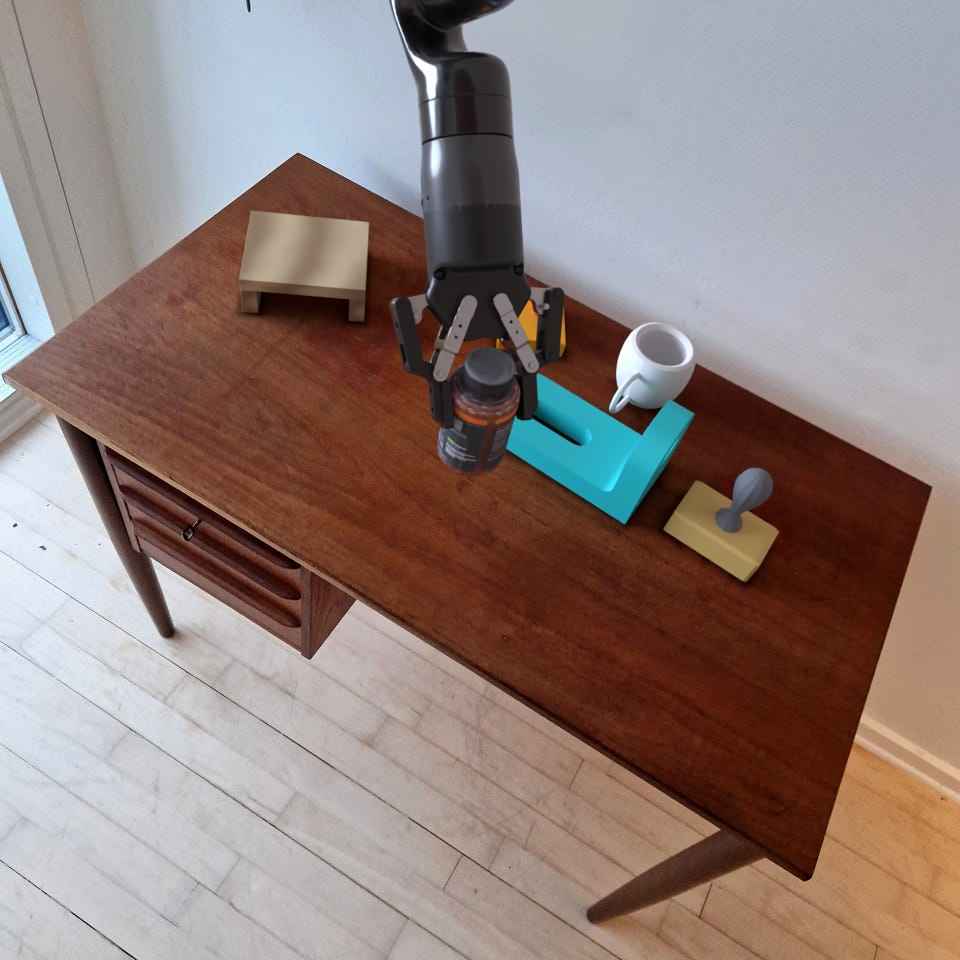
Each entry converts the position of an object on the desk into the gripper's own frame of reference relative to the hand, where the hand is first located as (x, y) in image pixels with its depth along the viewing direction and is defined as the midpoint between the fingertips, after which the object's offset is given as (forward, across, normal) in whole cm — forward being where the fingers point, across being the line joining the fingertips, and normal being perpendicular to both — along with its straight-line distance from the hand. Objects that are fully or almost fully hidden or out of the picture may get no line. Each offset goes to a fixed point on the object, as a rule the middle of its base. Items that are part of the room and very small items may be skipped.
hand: (486, 422), depth 68 cm
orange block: (-6, +16, +34) cm, 38 cm away
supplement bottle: (+3, 0, +6) cm, 7 cm away
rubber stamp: (+17, +28, +11) cm, 34 cm away
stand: (-13, -9, +42) cm, 45 cm away
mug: (+3, +26, +26) cm, 37 cm away
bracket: (+7, +16, +21) cm, 27 cm away
